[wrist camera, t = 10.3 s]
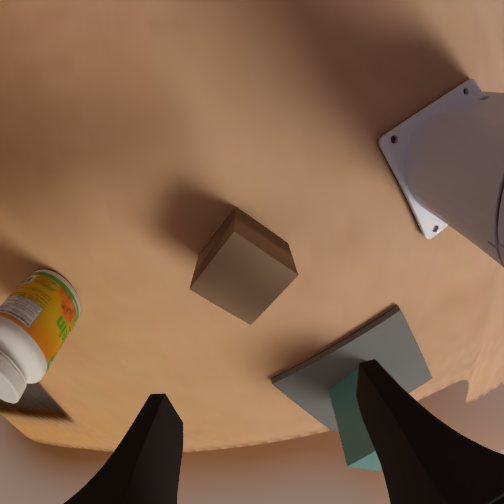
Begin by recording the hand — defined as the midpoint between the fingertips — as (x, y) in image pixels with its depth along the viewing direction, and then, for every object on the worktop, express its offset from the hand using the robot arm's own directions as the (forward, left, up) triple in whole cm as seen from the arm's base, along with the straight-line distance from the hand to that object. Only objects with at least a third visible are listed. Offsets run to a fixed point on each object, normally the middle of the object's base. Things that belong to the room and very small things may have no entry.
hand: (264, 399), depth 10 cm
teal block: (-1, +16, -10) cm, 18 cm away
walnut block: (0, -1, -11) cm, 11 cm away
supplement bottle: (+14, -7, -11) cm, 19 cm away
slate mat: (-1, +16, -10) cm, 19 cm away
